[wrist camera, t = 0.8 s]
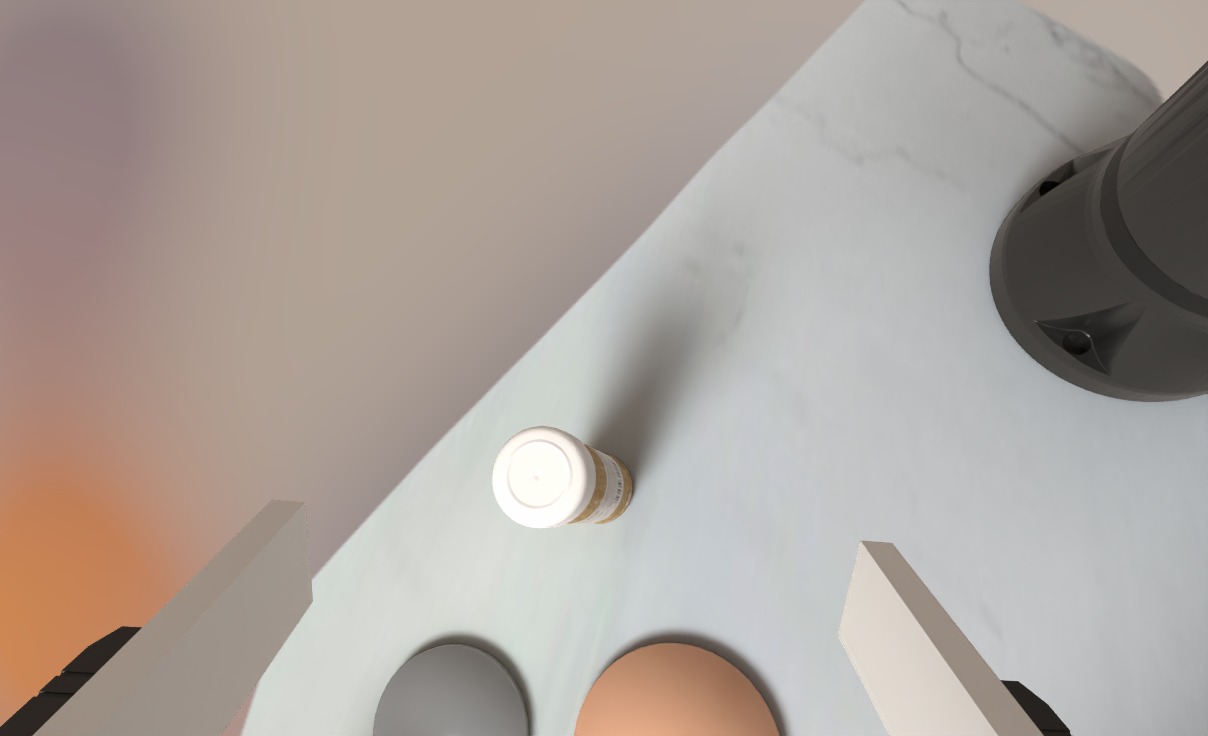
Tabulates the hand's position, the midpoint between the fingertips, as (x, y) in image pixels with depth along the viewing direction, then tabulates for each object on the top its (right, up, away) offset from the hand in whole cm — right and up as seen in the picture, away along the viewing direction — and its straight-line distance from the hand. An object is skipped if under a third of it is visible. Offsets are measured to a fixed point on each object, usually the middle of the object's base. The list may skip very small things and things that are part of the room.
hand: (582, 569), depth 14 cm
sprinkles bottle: (0, -3, +26) cm, 26 cm away
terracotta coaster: (+5, -18, +21) cm, 28 cm away
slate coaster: (-9, -18, +24) cm, 31 cm away
